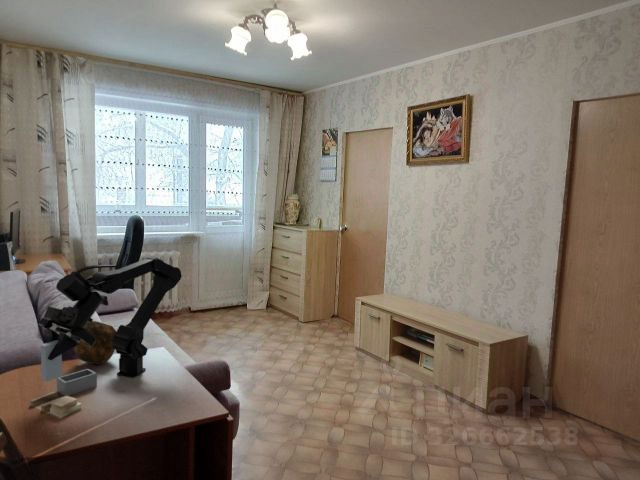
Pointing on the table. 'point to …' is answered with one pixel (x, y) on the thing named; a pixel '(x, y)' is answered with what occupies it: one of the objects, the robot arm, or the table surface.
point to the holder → (76, 382)
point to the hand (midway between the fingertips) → (46, 358)
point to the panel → (50, 362)
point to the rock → (97, 344)
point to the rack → (56, 405)
